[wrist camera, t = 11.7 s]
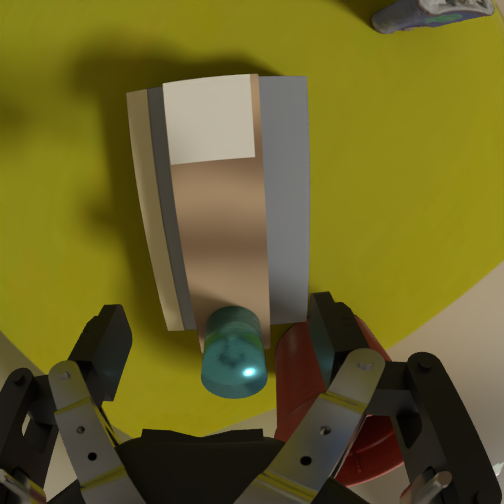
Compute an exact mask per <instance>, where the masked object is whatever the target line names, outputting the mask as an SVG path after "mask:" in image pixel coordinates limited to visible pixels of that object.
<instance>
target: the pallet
mask: <svg viewBox="0 0 504 504" xmlns="http://www.w3.org/2000/svg"><path fill="white" fill-rule="evenodd" d="M206 78H207V77H206ZM197 79H198V78H197ZM189 80H190V79H189ZM182 81H183V80H182ZM175 82H176V81H175ZM168 83H169V82H168ZM250 85H251V100H252V115H253V131H254V147H255V157H249V158H235V159H223V160H212V161H202V162H192V163H183V164H175V165H171V163H170V169H171V177H172V185H173V192H174V200H175V207H176V214H177V221H178V227H179V234H180V240H181V246H182V253H183V258H184V264H185V270H186V276H187V281H188V287H189V292H190V297H191V303H192V308H193V313H194V318H195V323H196V328H197V333H198V337H199V342H200V347H201V351H202V353H203V349H204V339H205V328H206V322H207V319H208V318H209V316H210V315H211V314H212V313H213V312H215V311H216V310H218V309H220V308H223V307H227V306H239V307H243V308H246V309H249V310H250V311H252V312H253V313H255V314H256V316H257V317H258V318H259V320H260V323H261V330H262V338H263V346H264V349H271V338H270V308H269V280H268V255H267V231H266V209H265V187H264V167H263V148H262V130H261V112H260V95H259V79H258V74H250ZM162 86H163V83H162ZM163 99H164V93H163ZM164 111H165V105H164ZM165 122H166V116H165ZM166 133H167V126H166ZM167 142H168V136H167ZM168 152H169V145H168ZM169 160H170V154H169Z"/></svg>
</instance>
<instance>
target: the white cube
mask: <svg viewBox="0 0 504 504" xmlns="http://www.w3.org/2000/svg"><path fill="white" fill-rule="evenodd" d="M163 93H164V105H165V116H166V126H167V136H168V145H169V154H170V163H171V165H175V164H183V163H192V162H202V161H212V160H223V159H235V158H249V157H255V147H254V131H253V115H252V100H251V85H250V74H241V75H228V76H216V77H207V78H198V79H190V80H183V81H176V82H169V83H163Z"/></svg>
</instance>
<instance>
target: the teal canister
mask: <svg viewBox="0 0 504 504" xmlns="http://www.w3.org/2000/svg"><path fill="white" fill-rule="evenodd" d="M201 380H202V383H203V385H204V387H205V388H206V389H207V390H208V391H210V392H211V393H213V394H215V395H217V396H220V397H224V398H231V399H238V398H245V397H249V396H251V395H254V394H256V393H257V392H259V391H260V390H261V389H262V388H263V387H264V386H265V385H266V382H267V369H266V361H265V353H264V346H263V338H262V330H261V323H260V320H259V318H258V317H257V316H256V314H255V313H253V312H252V311H250V310H249V309H246V308H243V307H239V306H227V307H223V308H220V309H218V310H216V311H215V312H213V313H212V314H211V315H210V316H209V318H208V319H207V322H206V328H205V339H204V349H203V361H202V373H201Z"/></svg>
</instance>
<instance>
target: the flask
mask: <svg viewBox="0 0 504 504" xmlns="http://www.w3.org/2000/svg"><path fill="white" fill-rule="evenodd" d="M494 9H495V8H494V5H493V4H492V1H491V0H399V1H397V2H395V3H393V4H392V5H390V6H388V7H386V8H384V9H382V10H380V11H377V12H376V13H375V14H374V15H373V17H371V24H372V26H373V27H374V29H375V30H376V31H377V32H379V33H382V34H388V33H390V34H391V33H393V32H395V31H400V30H403V31H406V30H408V31H409V30H412V29H413V28H415V27H420V28H422V27H424V26H426V27H438V26H442V25H446V24H450V23H454V22H461V21H463V20H467V19H472V18H477V17H482V16H491V15H492V14H493V13H494Z"/></svg>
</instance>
